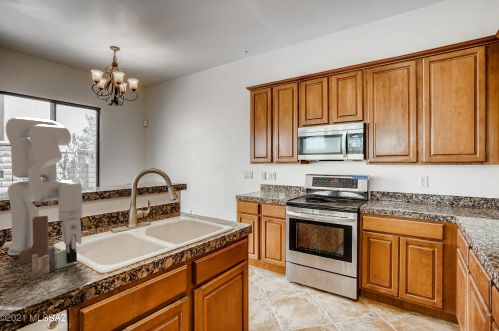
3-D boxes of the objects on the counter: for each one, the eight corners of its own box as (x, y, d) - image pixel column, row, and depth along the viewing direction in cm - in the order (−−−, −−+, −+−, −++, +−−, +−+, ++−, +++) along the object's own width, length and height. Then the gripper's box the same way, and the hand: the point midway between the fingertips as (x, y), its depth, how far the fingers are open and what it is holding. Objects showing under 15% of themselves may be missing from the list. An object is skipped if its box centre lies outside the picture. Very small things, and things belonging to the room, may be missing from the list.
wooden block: (18, 265, 101) (17, 220, 101) (21, 262, 105) (19, 218, 104) (47, 261, 106) (46, 217, 105) (49, 257, 110) (48, 215, 109)
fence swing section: (56, 269, 96) (56, 248, 96) (55, 268, 97) (55, 247, 97) (74, 264, 101) (74, 244, 101) (72, 263, 102) (72, 243, 102)
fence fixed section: (36, 281, 89) (35, 255, 88) (30, 281, 89) (30, 255, 89) (56, 271, 97) (55, 247, 96) (51, 270, 97) (51, 247, 97)
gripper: (86, 216, 97) (87, 265, 98) (77, 209, 108) (78, 253, 109) (62, 219, 92) (62, 270, 92) (55, 212, 103) (56, 257, 104)
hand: (71, 260), depth 101 cm, fingers closed on fence swing section
